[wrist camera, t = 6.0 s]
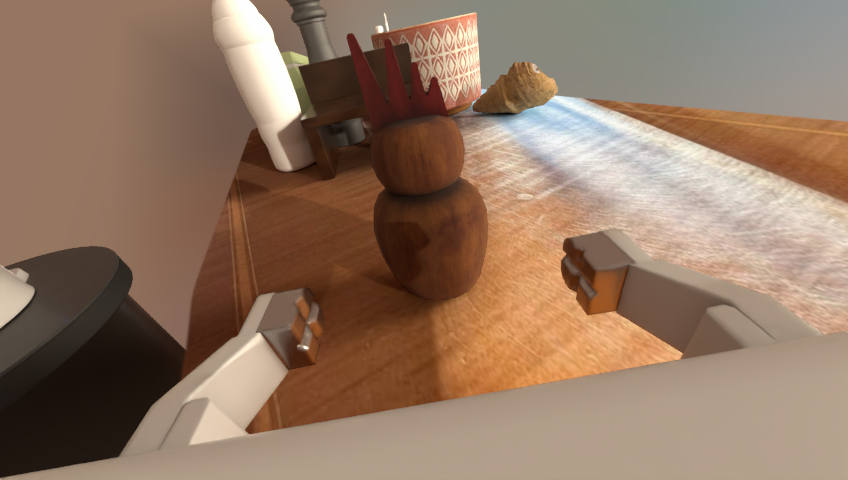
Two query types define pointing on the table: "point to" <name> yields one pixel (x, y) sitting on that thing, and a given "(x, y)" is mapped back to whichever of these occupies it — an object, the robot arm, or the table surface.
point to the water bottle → (262, 81)
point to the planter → (443, 56)
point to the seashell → (517, 91)
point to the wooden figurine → (421, 184)
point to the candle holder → (323, 58)
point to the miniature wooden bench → (342, 99)
